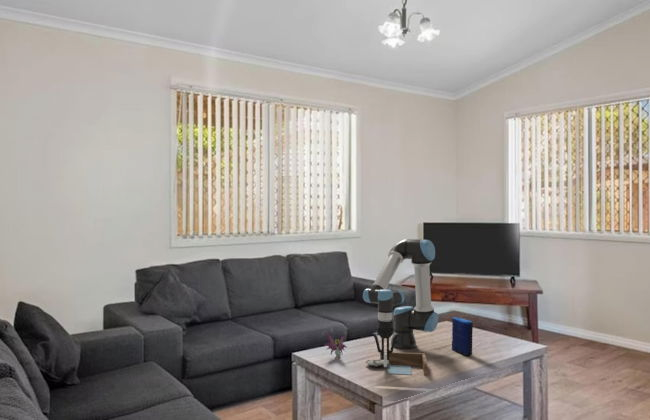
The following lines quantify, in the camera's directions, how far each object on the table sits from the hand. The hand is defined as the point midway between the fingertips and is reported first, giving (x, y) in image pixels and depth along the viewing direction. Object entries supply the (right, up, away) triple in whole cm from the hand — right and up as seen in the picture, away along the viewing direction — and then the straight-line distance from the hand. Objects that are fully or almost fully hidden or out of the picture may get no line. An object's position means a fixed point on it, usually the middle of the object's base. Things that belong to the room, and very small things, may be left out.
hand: (385, 366), depth 248 cm
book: (+48, -3, +31) cm, 57 cm away
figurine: (-24, -3, +21) cm, 32 cm away
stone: (0, -2, +3) cm, 4 cm away
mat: (+7, -2, 0) cm, 7 cm away
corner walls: (+9, -2, +2) cm, 10 cm away
